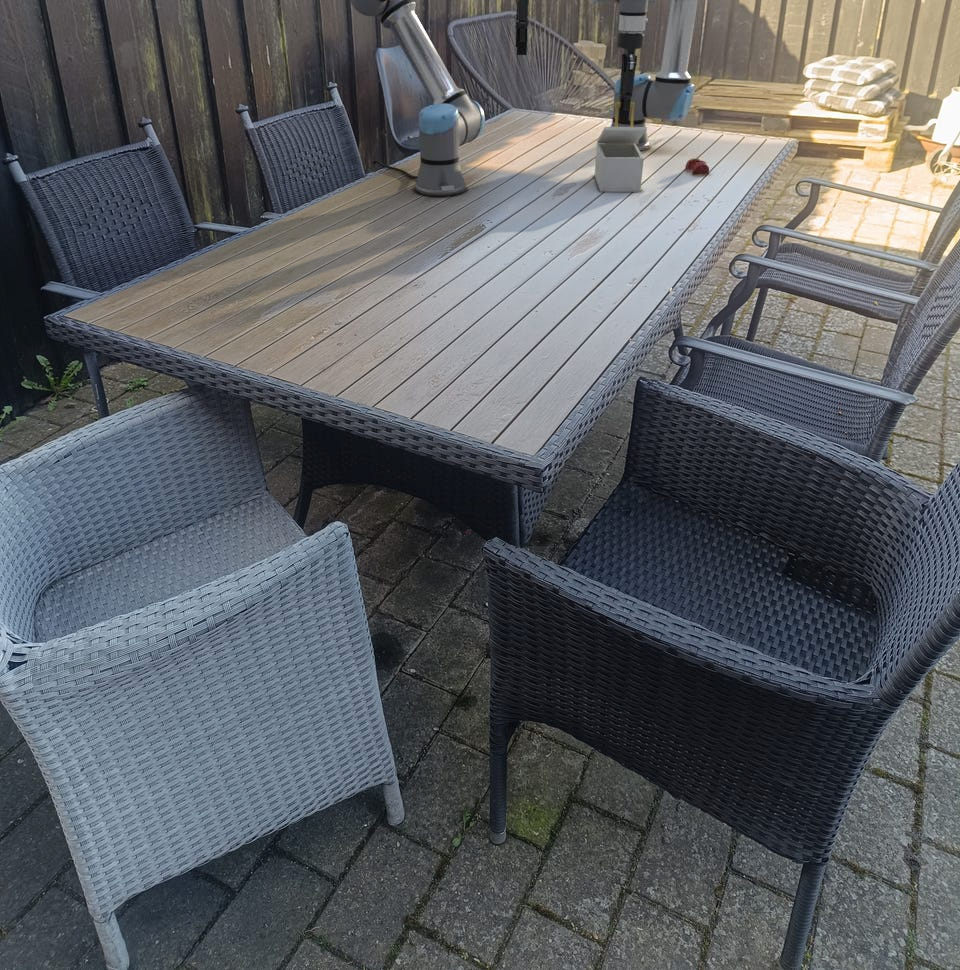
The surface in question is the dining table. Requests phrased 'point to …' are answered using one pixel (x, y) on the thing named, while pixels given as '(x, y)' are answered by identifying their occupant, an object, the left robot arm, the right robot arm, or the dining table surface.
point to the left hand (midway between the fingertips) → (520, 51)
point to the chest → (618, 167)
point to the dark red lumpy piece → (697, 166)
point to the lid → (621, 131)
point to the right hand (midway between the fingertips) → (623, 120)
